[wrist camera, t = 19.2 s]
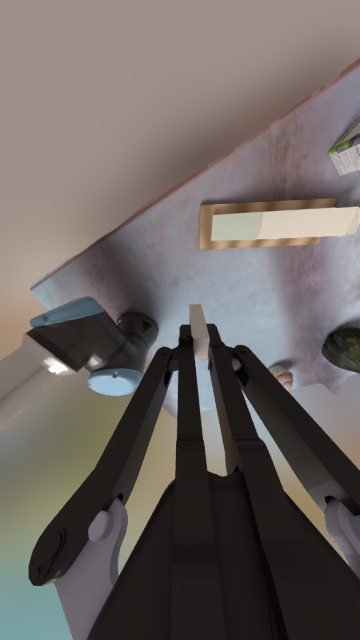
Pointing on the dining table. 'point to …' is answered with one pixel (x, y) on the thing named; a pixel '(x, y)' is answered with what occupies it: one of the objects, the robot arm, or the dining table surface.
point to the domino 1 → (236, 226)
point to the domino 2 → (271, 224)
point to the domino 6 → (354, 224)
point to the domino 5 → (340, 221)
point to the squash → (344, 349)
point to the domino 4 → (318, 222)
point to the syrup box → (347, 151)
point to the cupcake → (282, 375)
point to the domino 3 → (295, 223)
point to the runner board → (235, 208)
